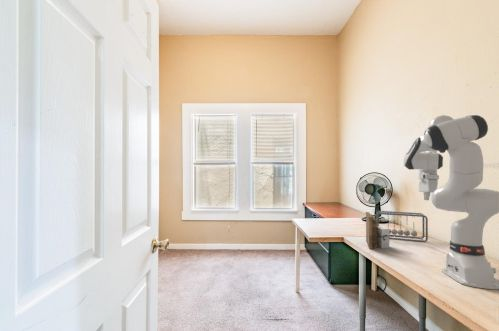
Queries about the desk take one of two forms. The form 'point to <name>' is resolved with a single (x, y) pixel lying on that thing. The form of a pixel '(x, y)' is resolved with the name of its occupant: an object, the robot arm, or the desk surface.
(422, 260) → the desk surface
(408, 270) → the desk surface
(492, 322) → the desk surface
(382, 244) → the ink box
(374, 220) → the headboard
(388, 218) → the newton's cradle
